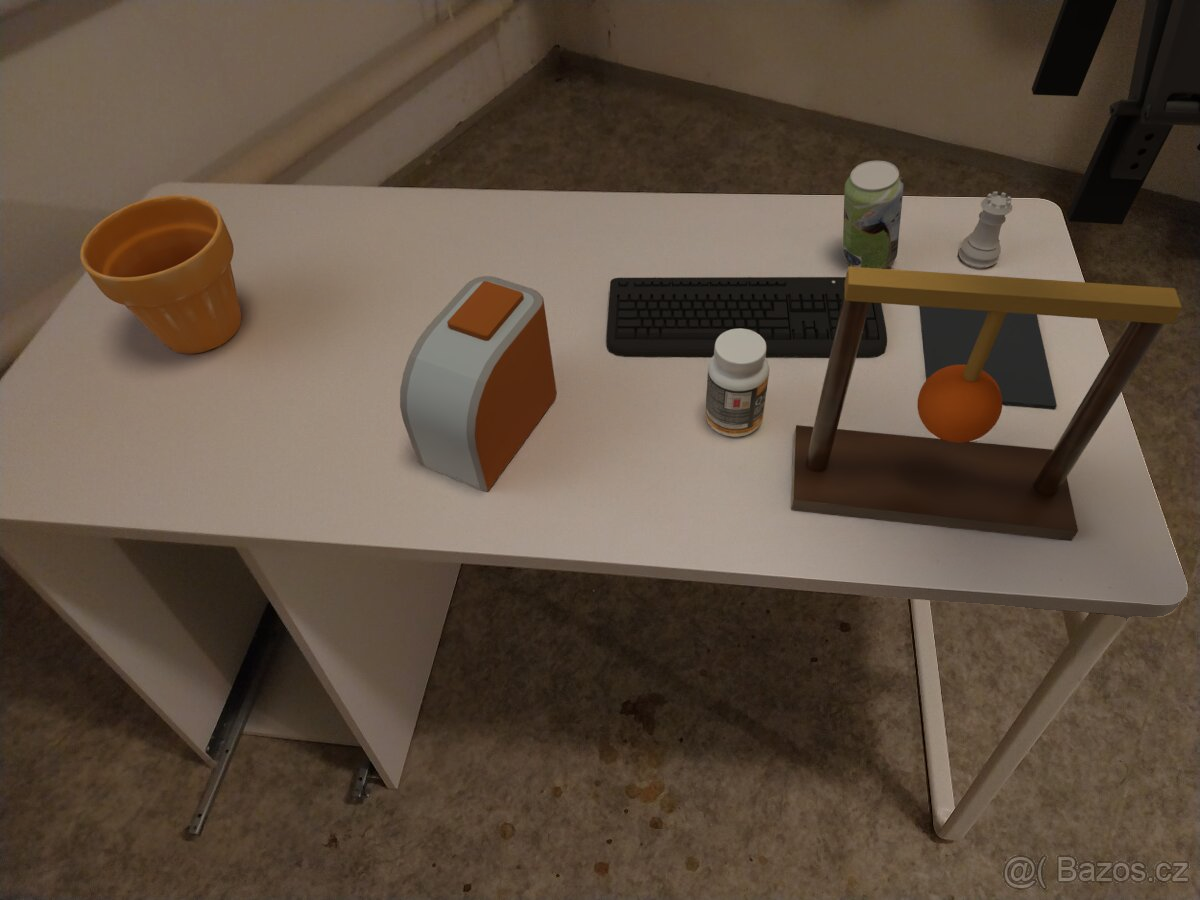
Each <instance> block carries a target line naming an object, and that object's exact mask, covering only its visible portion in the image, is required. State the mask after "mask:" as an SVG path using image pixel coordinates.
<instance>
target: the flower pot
mask: <svg viewBox="0 0 1200 900" xmlns="http://www.w3.org/2000/svg"><path fill="white" fill-rule="evenodd" d="M234 250H235V249H234V242H233V240H232V237H231V234H230V232H229V229H228V227H227V225H226V222H225V220H224V218H223V216H222V214H221V212H220V210H219V209H218V208H217V206H215V205H214V204H212V203H211V202H210V201H208V200H206V199H204V198H200V197H198V196H197V197H196V196H192V195H183V194H171V195H162V196H156V197H151V198H146V199H143V200H140V201H137V202H134V203H131V204H129V205H126V206H124V207H122V208H120V209H118V210H116V211H114V212H113V213H111V214H109V215H108V216H106V217H105V218H103V219H102V220H101V221H99V222H98V223H97V224H96V225H95V226H94V227H93V228H92V229H91V230H90V231H89V232H88V234H87V235H86V237H85V238H84V240H83V241H82V244H81V247H80V253H79V257H80V262H81V264H82V266H83V268H84V269H85V271H86V272H87V274H88V276H89V277H90V278H91V280H92V282H93V283H94V284H95V285H96V287H97V288H98V289H99V290H100V292H101V293H102V294H103V295H104V297H106V298H107V299H109V300H110V301H112V302H114V303H117V304H119V305H122V306H125V307H126V308H127V309H128V310H129V311H130V312H131V314H133V315H134V316H135V317H136V318H137V319H138V320H139V321H140V322H141V324H142V325H144V326H145V328H147V329H148V330H149V331H150V332H151V333H152V334H153V335H154V336H156V338H157V339H158V340H159V341H160V342H161V343H163V344H164V345H165V346H166V347H167V348H168V349H170V350H172V351H173V352H176V353H180V354H188V355H190V354H191V355H192V354H200V353H204V352H208V351H210V350H212V349H215V348H219V347H220V346H222V345H223V344H225V343H227V342H228V341H229V340H230V339H232V337H233V336H235V335H236V333H237V332H238V330H239V329H240V326H241V324H242V313H241V306H240V302H239V297H238V291H237V287H236V286H237V285H236V281H235V278H234V272H233V269H232V260H233V257H234V252H235V251H234Z"/></svg>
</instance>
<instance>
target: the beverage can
mask: <svg viewBox="0 0 1200 900" xmlns="http://www.w3.org/2000/svg"><path fill="white" fill-rule="evenodd" d="M904 185H905V184H904V179H903V177H902V176H901V174H900V171H899V169H898V167H897V166H896V165H895V164H894V163H892V162H889V161H885V160H879V159H878V160H868V161H865V162H862V163H860V164H858V165H856V166H855V167H854V168H853V169H852V170H851V172H850V175H849V177H848V178H847V179H846V181H845V184H844V193H843V195H844V196H843V226H842V229H843V230H842V231H843V232H842V235H843V236H842V258H843V260H844V262H845V263H846V264H847V265H848V266H849V267H863V268H878V269H885V268H886V267H888V266H890V265H891V264H892V263H893V262H894V261H895V260H896V258H897V256H898V248H899V240H900V239H899V238H900V229H901V218H902V208H903V206H902V205H903V199H904V187H905V186H904Z"/></svg>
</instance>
